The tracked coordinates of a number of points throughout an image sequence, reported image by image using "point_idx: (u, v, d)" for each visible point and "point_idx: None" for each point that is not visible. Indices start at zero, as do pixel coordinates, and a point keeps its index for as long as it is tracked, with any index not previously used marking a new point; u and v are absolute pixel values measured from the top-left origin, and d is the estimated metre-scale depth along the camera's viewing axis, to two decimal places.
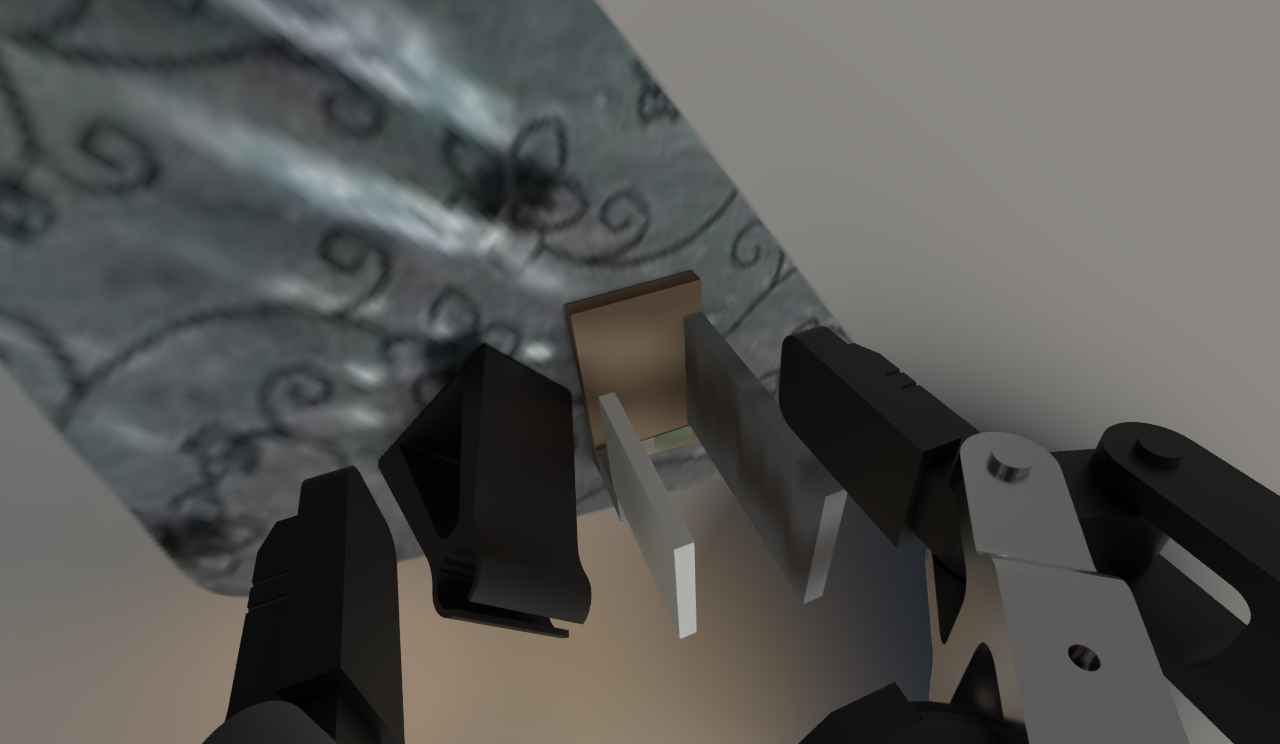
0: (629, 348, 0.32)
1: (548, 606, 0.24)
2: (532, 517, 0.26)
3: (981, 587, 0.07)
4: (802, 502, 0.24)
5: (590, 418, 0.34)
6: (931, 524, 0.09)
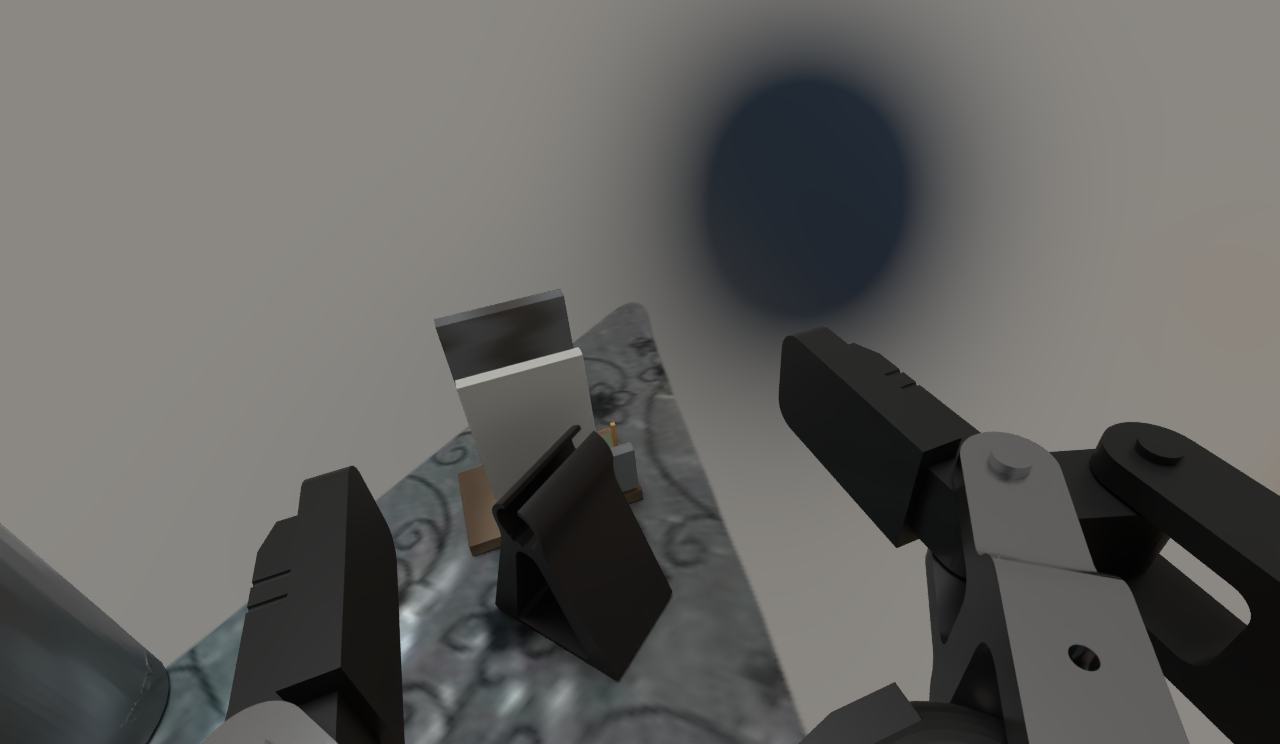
0: None
1: (546, 453, 0.30)
2: None
3: (981, 587, 0.07)
4: (470, 336, 0.37)
5: None
6: (932, 524, 0.09)
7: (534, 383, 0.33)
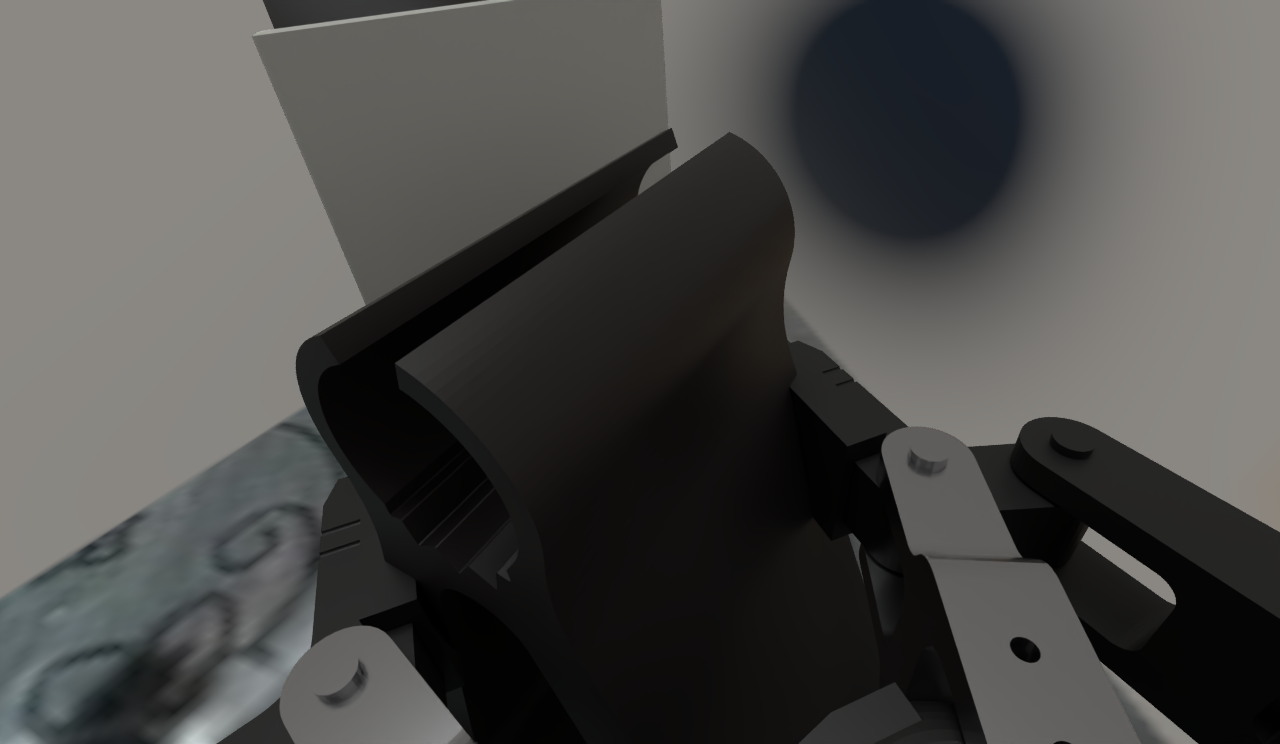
0: None
1: None
2: None
3: (920, 588, 0.07)
4: None
5: None
6: (860, 518, 0.09)
7: (516, 67, 0.11)
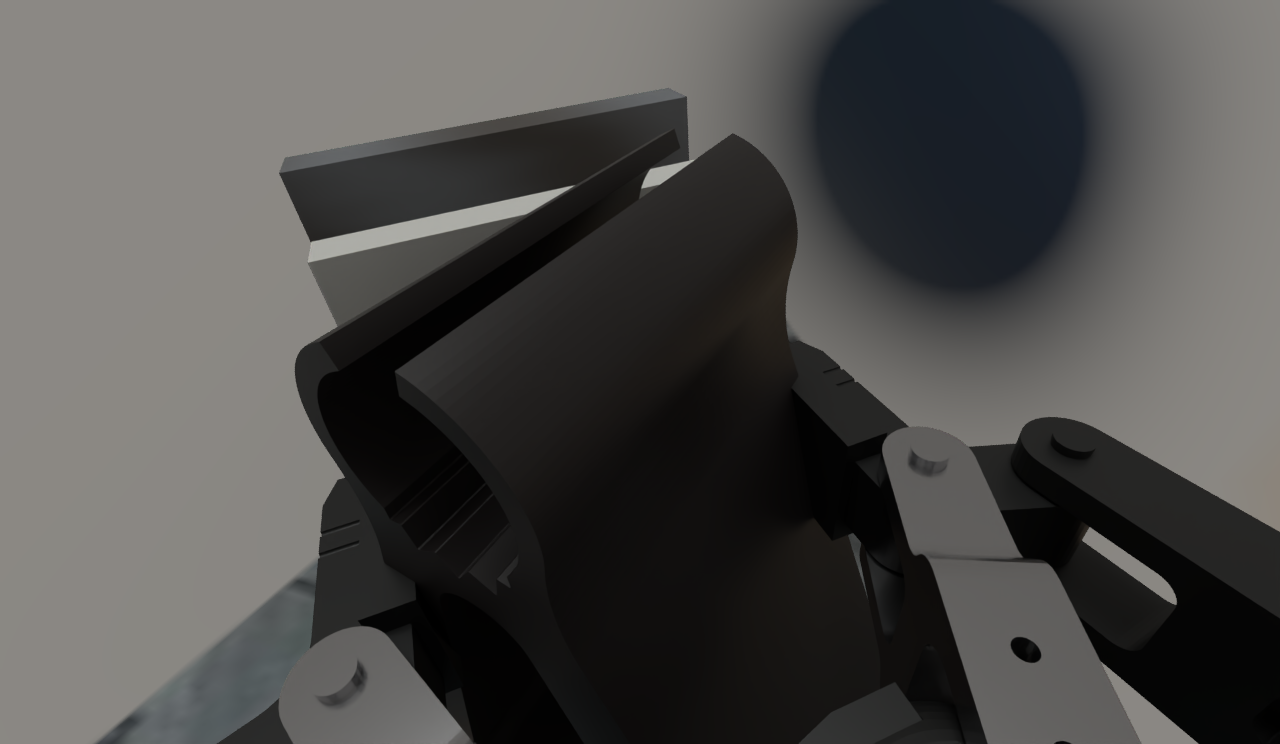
0: None
1: None
2: None
3: (920, 588, 0.07)
4: (404, 215, 0.12)
5: None
6: (861, 517, 0.09)
7: None
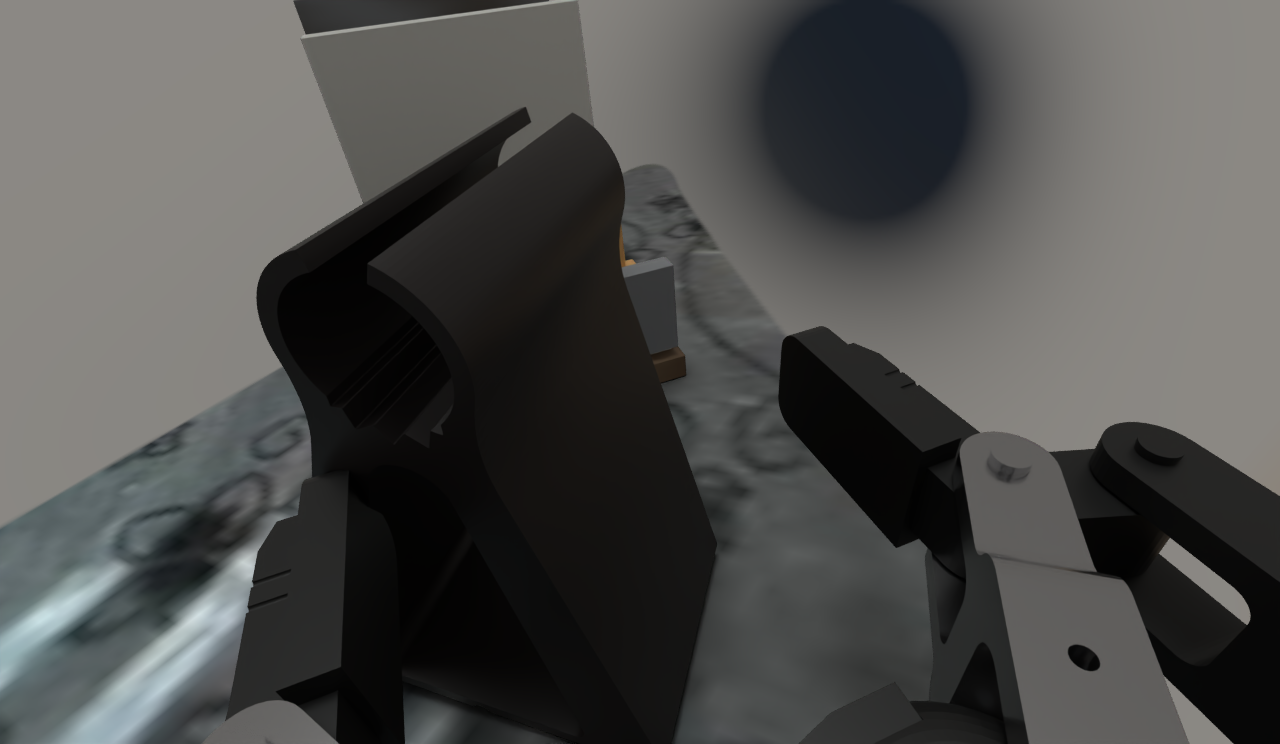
0: None
1: None
2: None
3: (980, 587, 0.07)
4: None
5: None
6: (931, 525, 0.09)
7: (478, 60, 0.16)
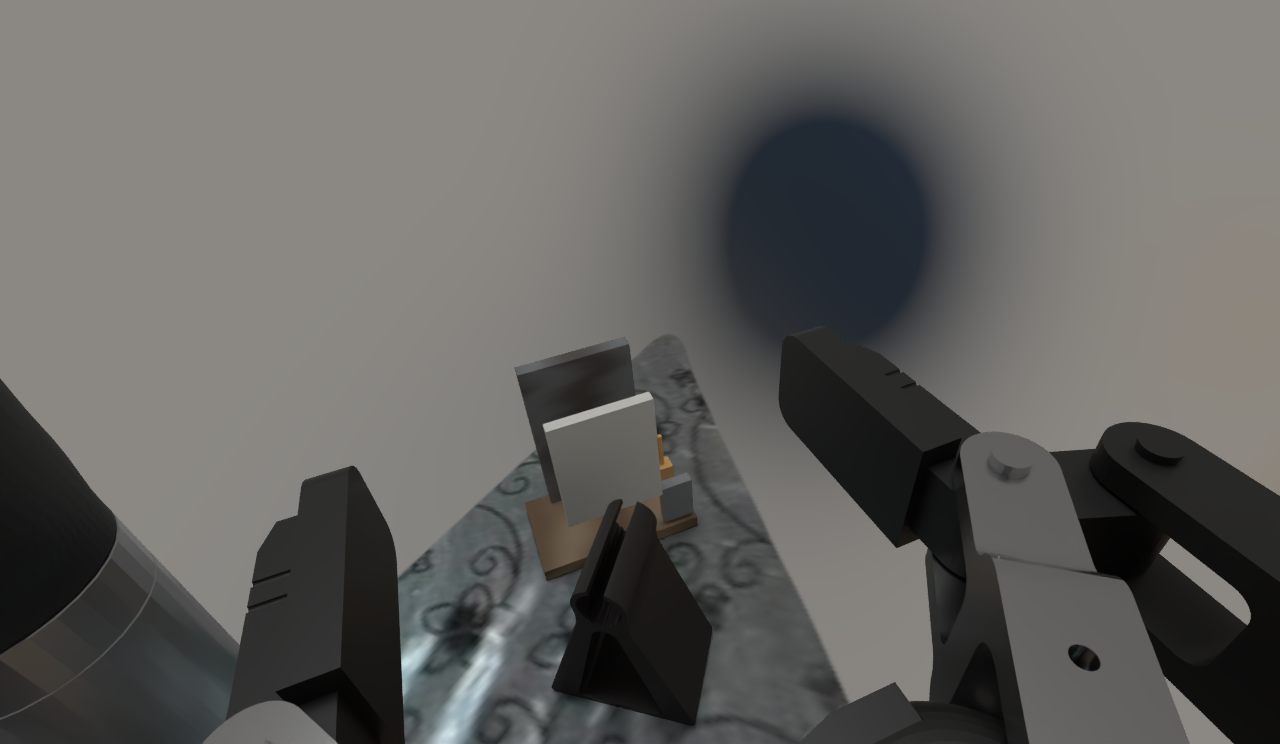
0: (575, 528, 0.45)
1: (602, 532, 0.32)
2: None
3: (981, 587, 0.07)
4: (546, 382, 0.41)
5: None
6: (931, 524, 0.09)
7: (611, 425, 0.37)
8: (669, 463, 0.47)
